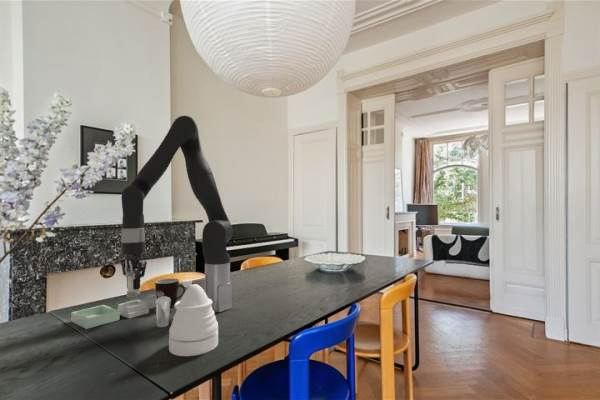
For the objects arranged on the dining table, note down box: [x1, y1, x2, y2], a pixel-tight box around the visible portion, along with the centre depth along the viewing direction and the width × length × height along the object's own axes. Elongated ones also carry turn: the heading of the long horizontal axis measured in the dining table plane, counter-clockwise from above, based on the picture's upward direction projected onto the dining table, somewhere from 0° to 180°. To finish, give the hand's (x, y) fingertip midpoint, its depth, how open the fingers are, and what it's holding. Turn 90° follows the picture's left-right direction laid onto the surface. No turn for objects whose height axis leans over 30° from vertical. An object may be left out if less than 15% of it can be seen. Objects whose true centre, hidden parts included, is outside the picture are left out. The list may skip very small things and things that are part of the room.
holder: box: [116, 299, 150, 319], centre depth 113 cm, size 9×7×4 cm
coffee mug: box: [154, 277, 186, 310], centre depth 119 cm, size 12×9×10 cm
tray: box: [70, 304, 121, 330], centre depth 106 cm, size 12×10×3 cm
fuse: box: [126, 270, 141, 298], centre depth 113 cm, size 4×4×9 cm
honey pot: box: [168, 278, 219, 357], centre depth 87 cm, size 13×13×18 cm
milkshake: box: [152, 296, 171, 328], centre depth 101 cm, size 4×5×10 cm
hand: (133, 288), depth 113 cm, fingers closed on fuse, 3 cm apart
